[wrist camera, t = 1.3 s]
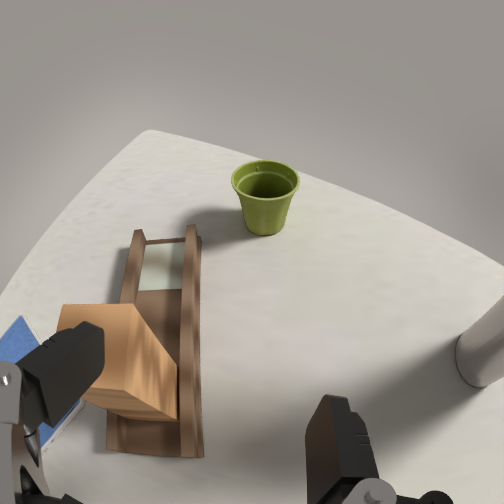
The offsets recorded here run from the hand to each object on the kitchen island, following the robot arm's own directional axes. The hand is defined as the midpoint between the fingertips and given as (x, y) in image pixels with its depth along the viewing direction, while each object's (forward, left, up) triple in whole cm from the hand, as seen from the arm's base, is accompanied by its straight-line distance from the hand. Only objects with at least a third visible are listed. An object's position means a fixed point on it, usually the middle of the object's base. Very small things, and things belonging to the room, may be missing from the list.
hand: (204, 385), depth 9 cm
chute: (+3, -15, -22) cm, 27 cm away
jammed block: (+6, -8, -21) cm, 23 cm away
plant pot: (-18, -25, -23) cm, 38 cm away
